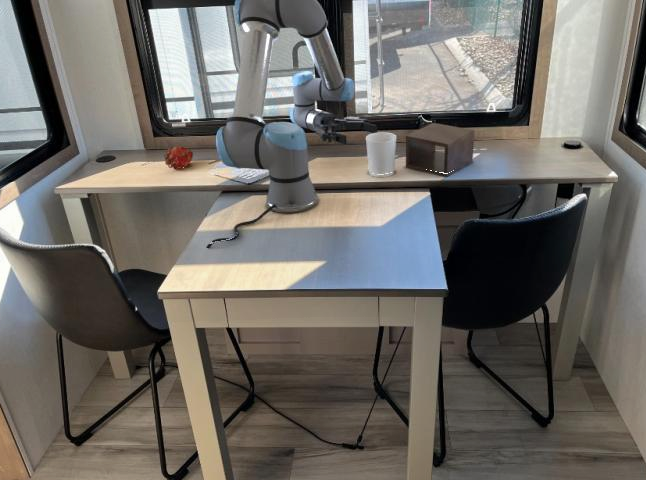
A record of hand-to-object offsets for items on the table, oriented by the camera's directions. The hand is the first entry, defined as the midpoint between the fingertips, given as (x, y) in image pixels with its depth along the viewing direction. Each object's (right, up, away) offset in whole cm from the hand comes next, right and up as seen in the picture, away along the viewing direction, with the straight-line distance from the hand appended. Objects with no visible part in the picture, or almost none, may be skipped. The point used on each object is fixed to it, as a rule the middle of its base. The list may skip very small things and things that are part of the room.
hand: (361, 135), depth 196 cm
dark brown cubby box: (+26, -9, +2) cm, 28 cm away
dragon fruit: (-64, -7, +15) cm, 66 cm away
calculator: (-40, -12, +7) cm, 43 cm away
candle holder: (+7, -13, -1) cm, 15 cm away
